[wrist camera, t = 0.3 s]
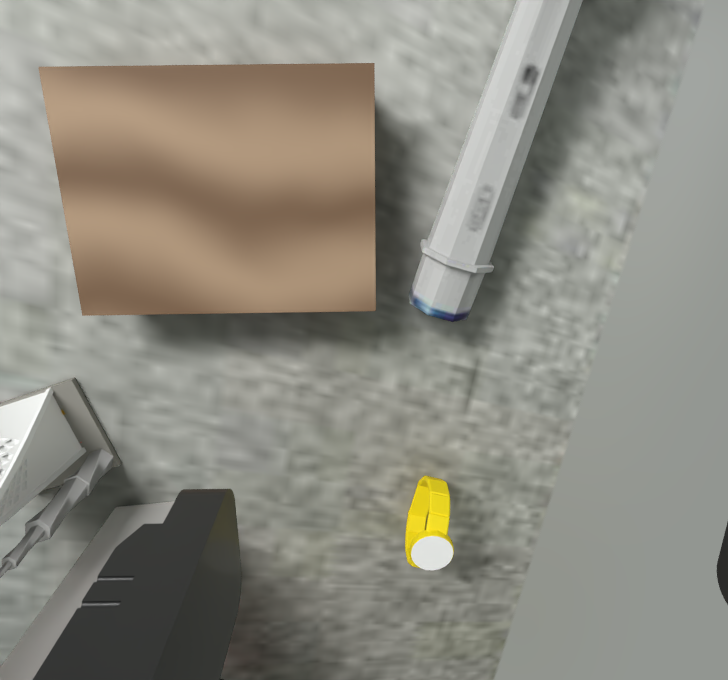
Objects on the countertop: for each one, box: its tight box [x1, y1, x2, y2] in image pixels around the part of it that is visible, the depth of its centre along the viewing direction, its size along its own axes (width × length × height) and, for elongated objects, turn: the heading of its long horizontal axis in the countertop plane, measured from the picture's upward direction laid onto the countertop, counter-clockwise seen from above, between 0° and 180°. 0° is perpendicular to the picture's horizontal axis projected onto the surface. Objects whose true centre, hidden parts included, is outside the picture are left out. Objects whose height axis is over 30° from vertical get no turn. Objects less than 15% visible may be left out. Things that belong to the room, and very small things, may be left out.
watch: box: [405, 476, 454, 570], centre depth 37 cm, size 6×3×6 cm, turn 166°
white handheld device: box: [409, 0, 583, 322], centre depth 29 cm, size 5×7×25 cm
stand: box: [39, 63, 376, 315], centre depth 31 cm, size 13×17×4 cm
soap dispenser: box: [0, 501, 175, 680], centre depth 30 cm, size 6×9×22 cm
